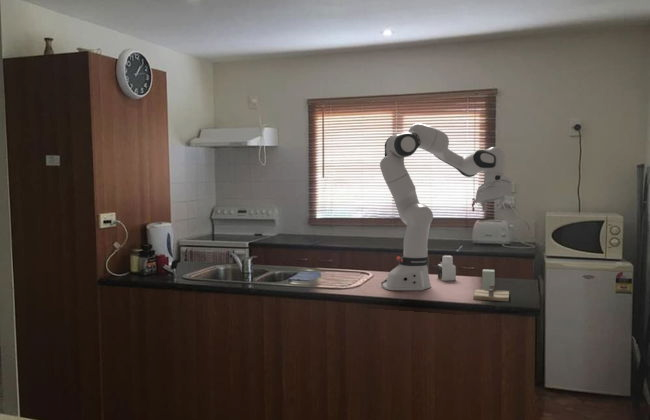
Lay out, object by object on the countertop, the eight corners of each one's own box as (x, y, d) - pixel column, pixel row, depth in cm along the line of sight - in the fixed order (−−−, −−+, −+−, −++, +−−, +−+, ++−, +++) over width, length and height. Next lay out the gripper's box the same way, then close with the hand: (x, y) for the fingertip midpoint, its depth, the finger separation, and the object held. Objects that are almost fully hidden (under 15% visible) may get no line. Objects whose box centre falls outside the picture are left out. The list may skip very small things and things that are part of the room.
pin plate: (475, 292, 247) (475, 283, 247) (509, 294, 243) (509, 285, 242) (473, 299, 234) (473, 289, 234) (508, 301, 229) (508, 291, 229)
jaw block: (482, 288, 255) (483, 269, 254) (494, 289, 253) (494, 269, 253) (482, 291, 250) (482, 271, 249) (494, 291, 248) (494, 271, 248)
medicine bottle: (437, 278, 282) (437, 254, 281) (451, 277, 282) (451, 254, 281) (441, 280, 274) (441, 256, 274) (455, 280, 275) (456, 256, 274)
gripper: (473, 183, 272) (471, 211, 268) (504, 174, 254) (502, 203, 251) (483, 187, 275) (481, 214, 271) (514, 178, 257) (513, 207, 253)
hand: (491, 209), depth 261 cm, fingers open, 8 cm apart
